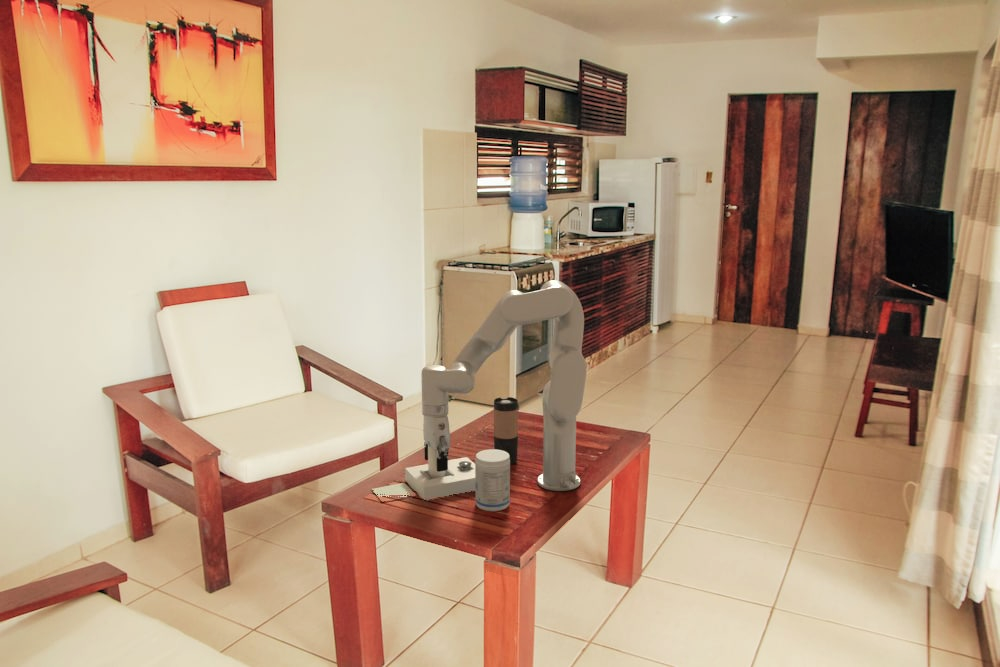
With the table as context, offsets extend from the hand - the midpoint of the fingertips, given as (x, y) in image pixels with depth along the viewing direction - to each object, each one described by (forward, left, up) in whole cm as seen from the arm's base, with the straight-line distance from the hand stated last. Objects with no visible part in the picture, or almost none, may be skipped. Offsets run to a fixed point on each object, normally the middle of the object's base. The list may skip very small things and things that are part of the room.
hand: (436, 464), depth 221 cm
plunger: (0, -9, -6) cm, 11 cm away
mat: (+1, +13, -7) cm, 14 cm away
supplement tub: (-19, -9, -7) cm, 22 cm away
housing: (0, -3, -7) cm, 7 cm away
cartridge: (0, 0, -7) cm, 7 cm away
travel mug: (+9, -27, -7) cm, 29 cm away
